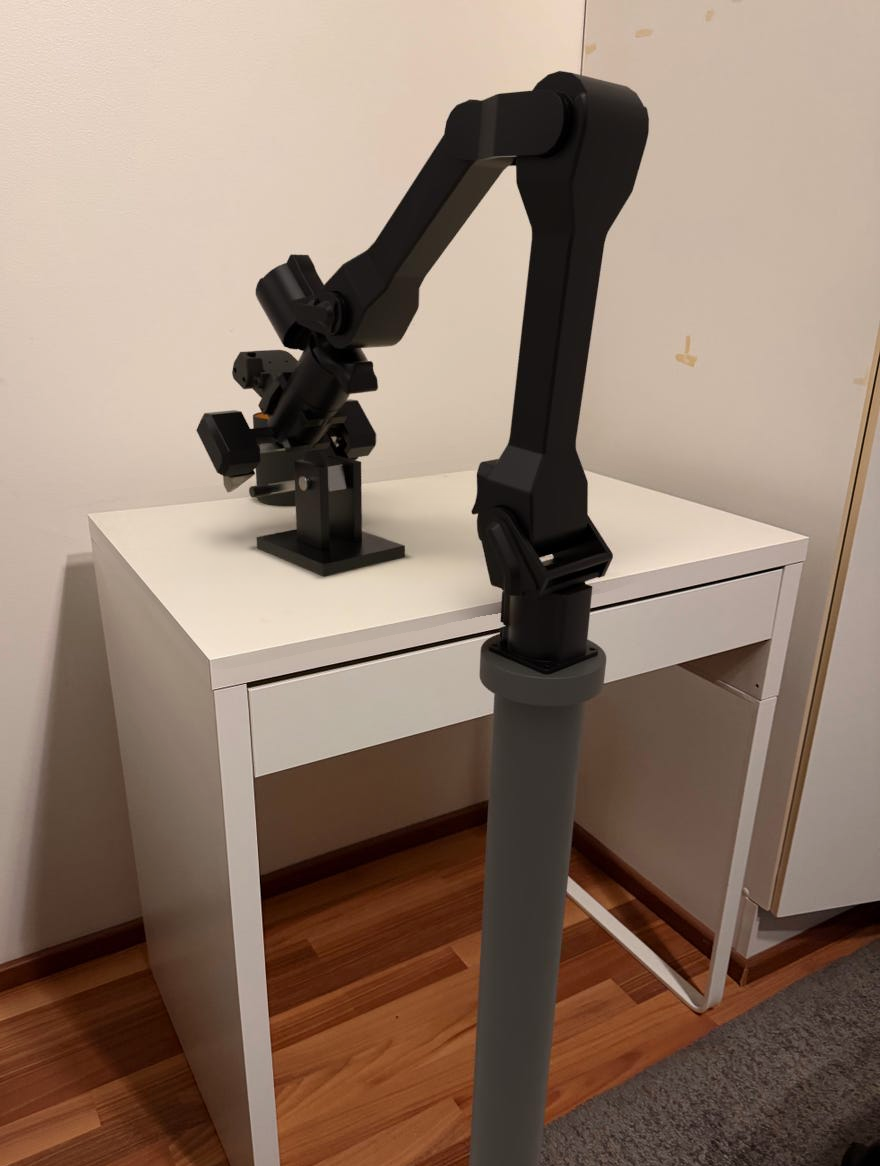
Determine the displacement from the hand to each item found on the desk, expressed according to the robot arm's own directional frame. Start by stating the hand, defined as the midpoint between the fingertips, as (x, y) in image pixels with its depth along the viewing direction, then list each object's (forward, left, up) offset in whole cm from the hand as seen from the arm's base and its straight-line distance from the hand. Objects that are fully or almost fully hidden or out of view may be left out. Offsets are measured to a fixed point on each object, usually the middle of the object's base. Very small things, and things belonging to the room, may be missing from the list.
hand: (264, 482), depth 95 cm
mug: (+9, -11, -5) cm, 15 cm away
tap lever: (-8, 0, 0) cm, 8 cm away
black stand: (-12, 0, -5) cm, 13 cm away
